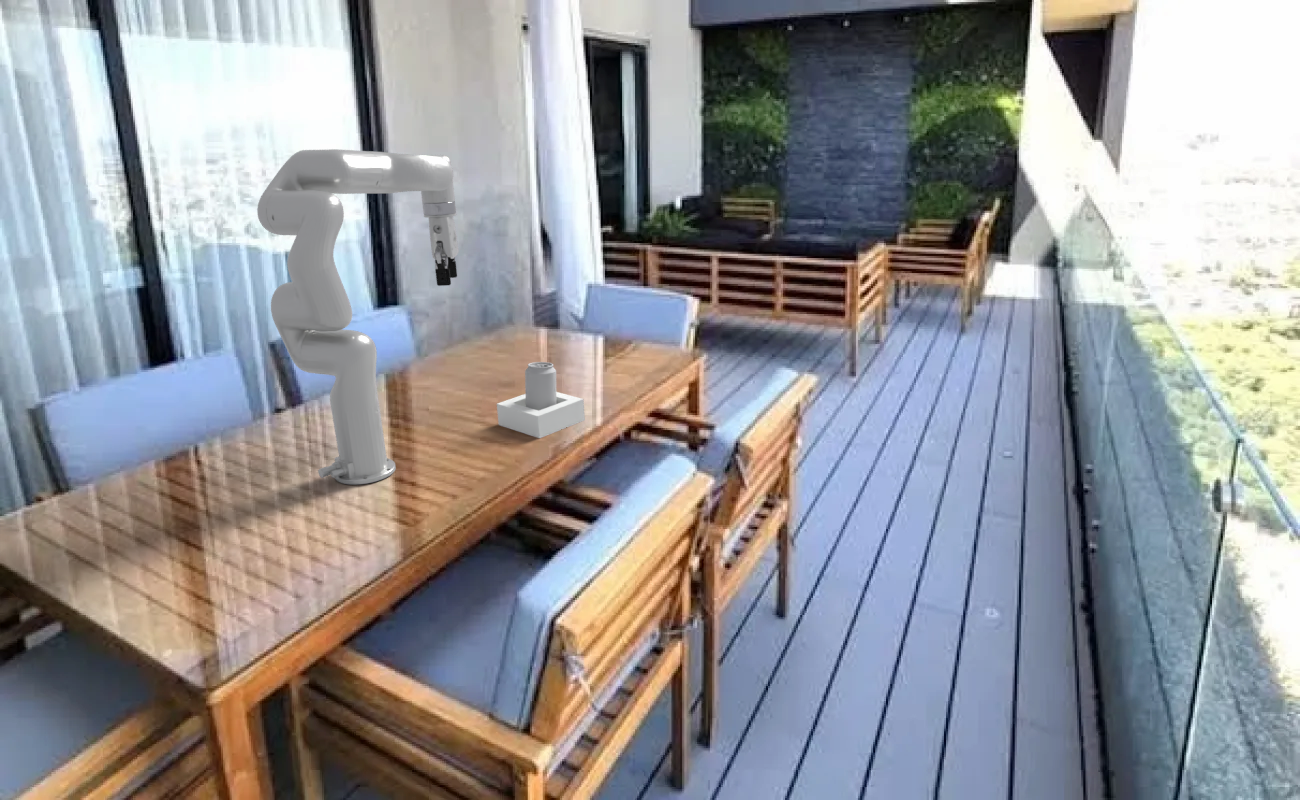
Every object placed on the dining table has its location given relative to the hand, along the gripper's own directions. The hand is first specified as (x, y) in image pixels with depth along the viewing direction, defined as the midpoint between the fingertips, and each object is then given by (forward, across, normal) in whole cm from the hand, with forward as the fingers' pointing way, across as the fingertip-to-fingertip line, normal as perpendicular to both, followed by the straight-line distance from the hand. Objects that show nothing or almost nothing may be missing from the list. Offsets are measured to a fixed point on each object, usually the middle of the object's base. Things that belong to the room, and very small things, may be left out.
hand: (447, 281), depth 204 cm
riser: (+35, -9, -21) cm, 42 cm away
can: (+32, -10, -21) cm, 39 cm away
